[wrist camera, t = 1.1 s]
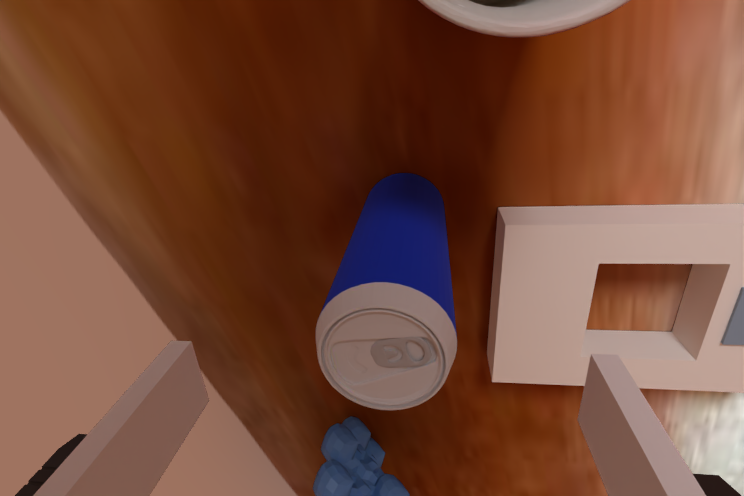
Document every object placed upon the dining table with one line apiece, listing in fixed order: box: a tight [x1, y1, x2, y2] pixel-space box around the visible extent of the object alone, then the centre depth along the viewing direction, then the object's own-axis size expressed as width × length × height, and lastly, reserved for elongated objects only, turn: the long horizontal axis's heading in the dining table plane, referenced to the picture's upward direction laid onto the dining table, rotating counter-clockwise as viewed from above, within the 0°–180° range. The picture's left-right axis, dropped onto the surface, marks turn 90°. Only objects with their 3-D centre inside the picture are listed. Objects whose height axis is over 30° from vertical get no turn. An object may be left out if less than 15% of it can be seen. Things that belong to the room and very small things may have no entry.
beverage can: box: [316, 173, 457, 410], centre depth 21 cm, size 5×5×15 cm
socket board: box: [487, 204, 744, 393], centre depth 27 cm, size 12×18×3 cm, turn 93°
